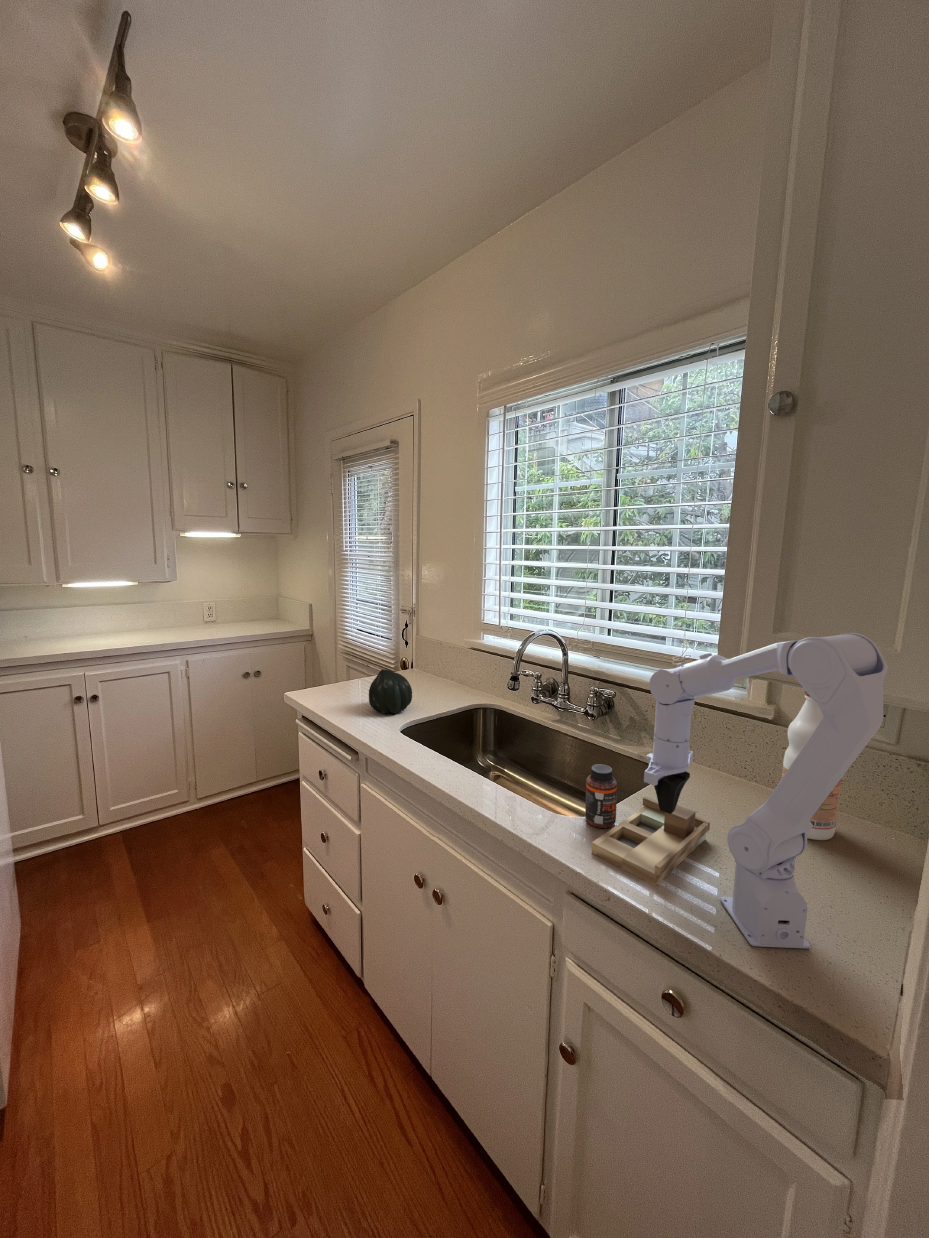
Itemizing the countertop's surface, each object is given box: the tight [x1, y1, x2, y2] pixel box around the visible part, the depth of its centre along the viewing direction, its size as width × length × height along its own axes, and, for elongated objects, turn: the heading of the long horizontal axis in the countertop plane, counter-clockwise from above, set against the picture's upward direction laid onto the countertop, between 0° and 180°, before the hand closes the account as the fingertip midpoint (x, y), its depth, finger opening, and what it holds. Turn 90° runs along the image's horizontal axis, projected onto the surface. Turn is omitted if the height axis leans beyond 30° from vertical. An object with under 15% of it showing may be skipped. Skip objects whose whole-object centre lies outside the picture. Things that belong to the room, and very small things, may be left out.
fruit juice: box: [781, 691, 843, 841], centre depth 96 cm, size 9×9×28 cm
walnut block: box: [664, 804, 696, 839], centre depth 92 cm, size 4×4×4 cm
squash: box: [368, 668, 413, 714], centre depth 166 cm, size 14×15×15 cm
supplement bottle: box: [584, 763, 618, 829], centre depth 98 cm, size 6×6×11 cm
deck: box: [591, 796, 711, 887], centre depth 91 cm, size 20×13×4 cm, turn 133°
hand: (666, 810), depth 87 cm, fingers closed
